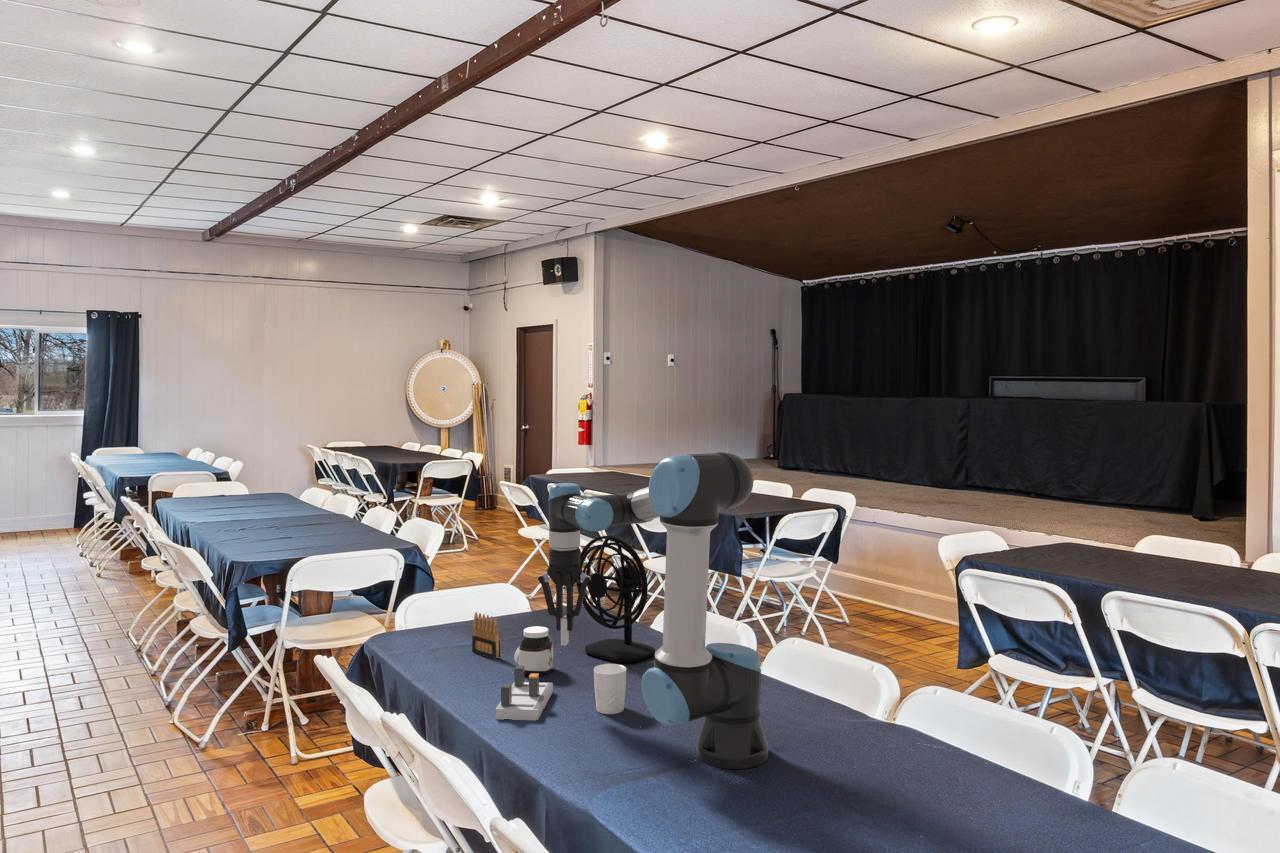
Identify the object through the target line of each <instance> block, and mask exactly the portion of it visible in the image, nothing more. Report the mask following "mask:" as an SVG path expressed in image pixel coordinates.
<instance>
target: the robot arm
mask: <svg viewBox="0 0 1280 853" xmlns="http://www.w3.org/2000/svg"><path fill="white" fill-rule="evenodd" d="M753 488H754V475H753V471H752V468H751V467H750V466H749V464H748V462H746V460H745V459H744V458H742V457H740V456H739V455H737V454H734V453H731V452H713V453H712V452H710V453H709V452H708V453H689V454H688V453H686V454H685V453H684V454H683V453H682V454H678V455H674V456H673V455H672V456H668V457H665V458H664V459H662V460H661V461H659V463H658V464H657V465H656V466H654V469H653V470H652V472H651V475H650V478H649V482H648V486H647V487H644V488H641V489H637V490H633V491H630V492H624V493H617V494H616V493H614V494H613V493H612V494H602V495H601V494H600V495H591V496H590V495H582V492H581V487H580V485H579V484H577V483H572V482H561V483H560V482H559V483H553V484H551V485H550V487H549V491H548V492H549V493H548V499H547V500H548V528H549V529H548V546H549V547H550V549H548V567H547V569H546V572H544V573H543V574H542V573H541V574H540V575H539V576H538V577H537V580H538V582H539V583H540V585H541V586H542V592H543V594H544V600H545V604H546V608H547V611H548V612H547V613H548V615H549V616H554V617H555V619H556V623H555V624H556V631H557V632H558V631H559V632H560V646H567V645H568V644H569V642H570V636H569V635H570V634H569V633H570V632H571V631H572V630H573V628H574V617H578V616H579V615H580V613H581V610H582V607H583V604H582V603H583V599H584V595H585V591H586V592H587V588H588V587H587V584H588V583H589V581H590V580H591V576H590V575H591V574H590V575H588V576H587V575H586V573H585V574H584V573H583V567H582V568H581V566H580V554H581V549H580V548H579V547H580V546H581V529H583V530H585V531H588V532H602V531H604V530H606V529H608V528H609V527H617V526H625V525H634V524H639V525H640V524H645V523H648V522H652V521H653V520H654V519H658V518H659V522H660V524H661V525H662V527H664V528H665V529H666V548H665V549H666V550H665V569H664V570H665V572H664V574H665V577H664V597H663V598H664V599H663V600H664V601H663V602H664V603H663V621H662V622H663V623H662V624H663V625H662V628H663V629H662V645H661V646H660V647H659V648H658V649H656V650H655V654H654V661H653V662H654V663H653V664H654V665H653V667H650V668H648V669H647V670H646V671H645V672H644V673H643V675H642V678H641V683H640V684H641V685H640V686H641V693H642V698H643V700H644V703H645V705H646V707H647V709H648V711H649V713H650V714H651V716H653V718H654V719H655V720H656V721H657V722H658V723H660V724H662V725H665V726H676V725H686V724H687V723H688V722H691V721H694V720H697V719H702V718H704V719H703V723H702V725H701V728H700V732H699V734H698V737H697V740H696V756H697V757H698V759H699V760H700V761H702V762H703V763H705V764H708V765H710V766H714V767H717V768H721V769H729V770H730V769H731V770H732V769H734V770H737V769H738V770H739V769H742V770H743V769H750V768H753V767H758V766H760V765H762V764H764V763H765V762H766V761H767V760H768V758H769V742H768V741H767V737H766V734H765V730H764V728H763V724H762V722H761V682H762V681H761V680H762V678H761V673H762V669H761V659H760V655H759V653H758V651H757V650H755V649H753V648H751V647H748V646H745V645H741V644H735V643H730V642H729V643H728V642H712V643H708V644H706V637H707V635H706V633H707V612H708V591H709V590H708V589H709V588H708V586H709V568H710V567H709V566H710V565H709V564H710V545H711V544H710V542H711V532H712V530H714V529H715V528H716V527H717V526H718V525H719V516H720V514H719V511H725V510H730V509H733V508H737V507H739V506H741V505H743V504H744V503H745V502H746V501H747V500H748V498H749V497H750V495H751V493H752V491H753ZM579 577H581V580H580V582H581V583H582V584H581V587H580V591H579V593H578V595H577V599H576V604H575V609H574V587H575V586H574V585H575V584H576V581H577V579H578V578H579ZM550 579H551V581H552V582H553V584H554V585H555V604H554V598H553V595H552V591H551V586H550V582H549V581H550ZM564 587H566V588H565V589H566V615H563V614H564V610H563V609H564V608H563V607H564V601H563V600H564V599H563V598H564Z"/></svg>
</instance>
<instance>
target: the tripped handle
mask: <svg viewBox="0 0 1280 853" xmlns="http://www.w3.org/2000/svg"><path fill="white" fill-rule="evenodd" d="M528 682H529V696H538V694H539V683H540V676H539V674H538V673H531V674H530V675H528Z"/></svg>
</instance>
